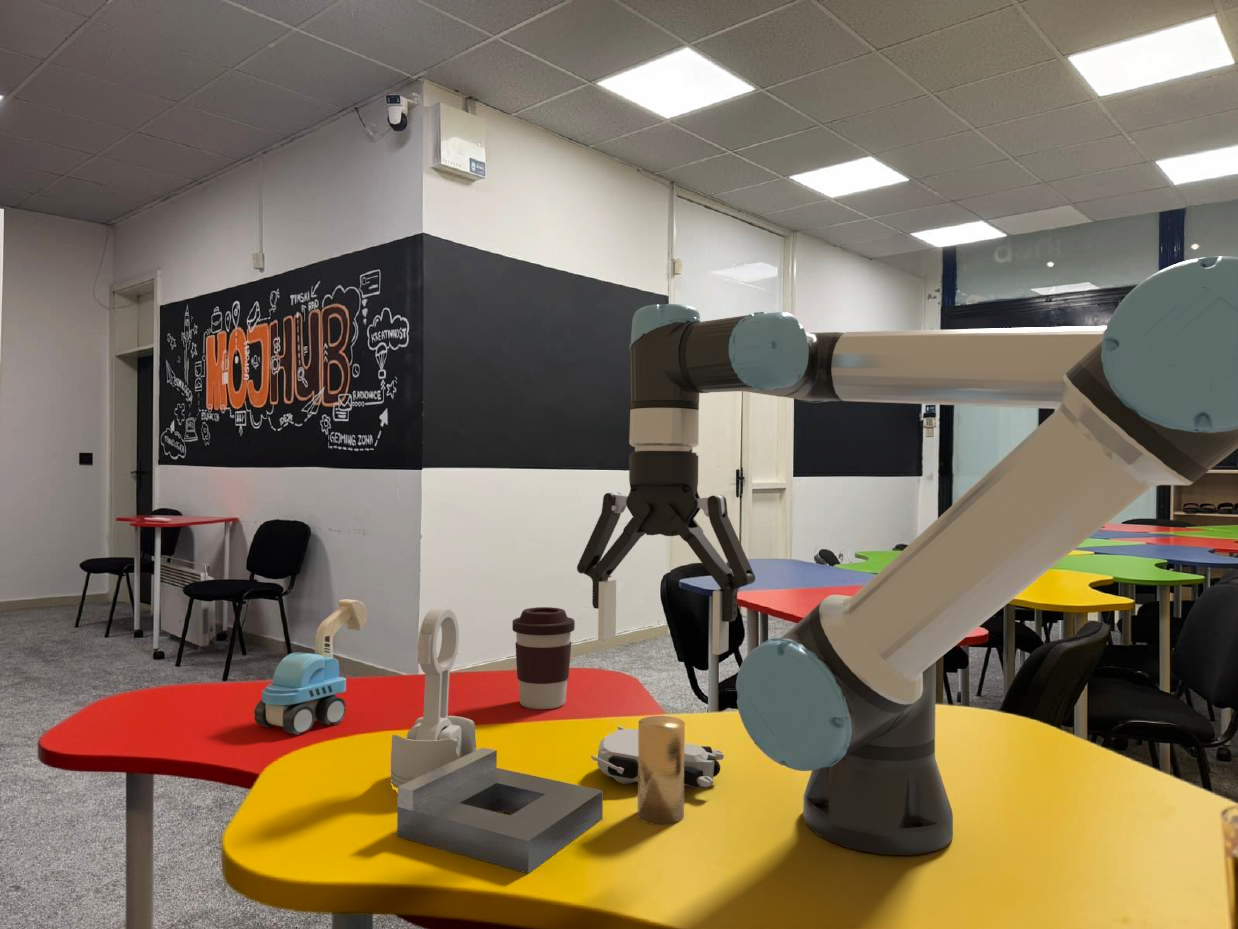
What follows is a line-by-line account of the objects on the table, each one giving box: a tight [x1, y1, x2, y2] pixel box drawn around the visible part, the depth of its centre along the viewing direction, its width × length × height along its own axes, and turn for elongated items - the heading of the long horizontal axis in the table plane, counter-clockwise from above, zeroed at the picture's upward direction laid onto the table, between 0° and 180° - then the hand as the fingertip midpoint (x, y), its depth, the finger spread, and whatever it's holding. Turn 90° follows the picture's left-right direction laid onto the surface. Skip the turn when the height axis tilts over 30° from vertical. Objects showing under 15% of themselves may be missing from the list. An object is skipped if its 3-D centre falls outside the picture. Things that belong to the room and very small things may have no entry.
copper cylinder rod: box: [637, 715, 686, 826], centre depth 90 cm, size 5×5×10 cm
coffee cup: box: [511, 606, 576, 710], centre depth 133 cm, size 10×10×15 cm
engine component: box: [390, 607, 478, 788], centre depth 100 cm, size 11×20×10 cm
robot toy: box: [590, 726, 725, 789], centre depth 102 cm, size 12×4×15 cm
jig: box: [396, 747, 604, 874], centre depth 87 cm, size 16×14×5 cm
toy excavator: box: [253, 598, 368, 736], centre depth 123 cm, size 9×17×17 cm, turn 148°
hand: (661, 645), depth 91 cm, fingers open, 13 cm apart
